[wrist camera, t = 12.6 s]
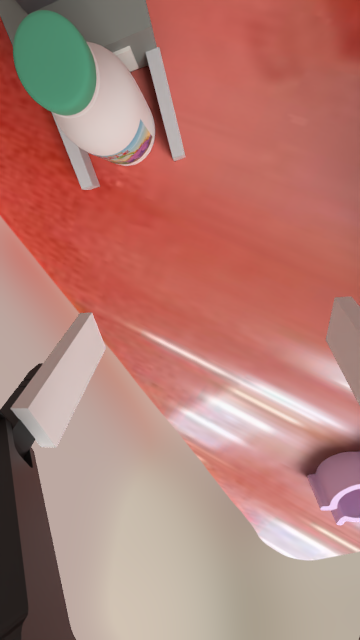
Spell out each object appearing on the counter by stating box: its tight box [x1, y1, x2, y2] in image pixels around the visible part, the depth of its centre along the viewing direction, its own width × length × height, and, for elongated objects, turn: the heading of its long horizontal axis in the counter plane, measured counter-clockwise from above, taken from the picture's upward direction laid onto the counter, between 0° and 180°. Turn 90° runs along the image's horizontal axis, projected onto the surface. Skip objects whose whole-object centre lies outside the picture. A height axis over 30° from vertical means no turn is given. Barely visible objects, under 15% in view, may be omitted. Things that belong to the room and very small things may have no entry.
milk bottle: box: [13, 10, 155, 166], centre depth 25 cm, size 8×8×20 cm
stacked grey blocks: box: [0, 0, 185, 190], centre depth 26 cm, size 14×21×11 cm, turn 16°
